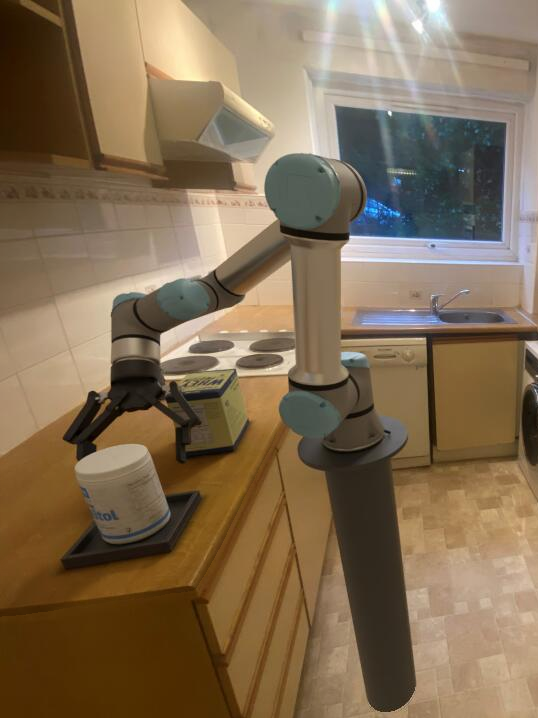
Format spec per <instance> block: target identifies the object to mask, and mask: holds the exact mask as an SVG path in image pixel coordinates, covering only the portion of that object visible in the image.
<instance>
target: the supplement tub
mask: <svg viewBox="0 0 538 718" xmlns="http://www.w3.org/2000/svg"><path fill="white" fill-rule="evenodd" d="M74 472H75V477H76V480H77V483H78V486H79V488H80V490H81V493H82V494H83V497H84V499H85V502H86V505H87V506H88V508H89V509H88V510H89V511H90V514H91V516H92V518H93V521H95V522H96V525H97V527H98V529H99V531H100V533H101V536H102V538H103V539H104V540H105V541H106V542H108V543H111V544H126V543H132V542H136V541H139V540H142V539H144V538H147V537H149V536H151V535H152V534H154V533H156V532H157V531H159V530H160V529H161V528H163V527H164V526H165V525H166V523H167V522H168V521H169V519H170V510H169V507H168V504H167V501H166V498H165V495H166V494H165V493H164V490H163V486H162V484H161V480H160V477H159V475H158V473H157V470H156V466H155V463H154V460H153V458H152V455H151V453H150V452H149V449H148V448H147V446H145V445H142V444H139V443H138V444H137V443H126V444H119V445H114V446H109V447H106V448H101V449H99V450H97V452H94V453H92V454H90V455H88V456H86V457H84V458H83V459H81V460H80V461H78V462H76V464H75V466H74Z"/></svg>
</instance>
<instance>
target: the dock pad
mask: <svg viewBox="0 0 538 718" xmlns="http://www.w3.org/2000/svg"><path fill="white" fill-rule="evenodd" d="M164 495H165V498H166V501H167V504H168V507H169V510H170V519H169V521H168V522H167V523H166V525H165V526H164V527H163V528H161V529H160V530H159V531H157V532H156V533H154V534H152V535H151V536H149V537H147V538H144V539H142V540H139V541H136V542H132V543H126V544H111V543H108V542H106V541H105V540H104V539H103V538H102V536H101V533H100V531H99V529H98V527H97V525H96V522H95V520H93V521H92V522H91V524H90V525H89V526H88V527H87V528H86V530H85V531H84V532H83V533H82V534H81V535H80V537H78V539H77V540H76V541H75V542H74V543H73V545H71V547H70V548H69V549H68V550H67V552H66V553H65V554H64V555H63V556H62V557H61V558H60V562H61V564H62V566H63V567H64V570H70V569H77V568H82V567H88V566H95V565H100V564H105V563H106V564H107V563H111V562H117V561H123V560H129V559H135V558H140V557H141V558H142V557H146V556H147V557H148V556H152V555H158V554H164V553H170V552H172V551H173V549H174V548H175V546H176V544H177V543H178V541H179V539H180V538H181V536H182V534H183V532H184V530H185V528H186V527H187V525H188V524H189V522H190V520H191V518H192V517H193V515H194V513H195V512H196V510H197V508H198V506H199V504H200V503H201V501H202V498H203V497H202V495H201V491H200V490H199V489H197V490H191V491H184V492H183V491H182V492H176V493H169V494H164Z"/></svg>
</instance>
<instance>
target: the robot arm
mask: <svg viewBox="0 0 538 718" xmlns="http://www.w3.org/2000/svg"><path fill="white" fill-rule="evenodd" d="M263 191H264V197H265V201H266V203H267V204H266V205H267V206H268V208H269V210H270V211H271V212H273V214H274V216H275V218H276V220H274V221H273V222H272V223H270V224H269V225H268V226H267V227H266V228H264V229H263V230H262V231H261V232H259V233H258V234H256V235H255V236H254V237H252V239H251V240H249V241H248V242H247V243H245V244H244V245H243V246H242V247H240V248H239V249H238V250H237V251H235V252H234V253H233V254H231V255H230V256H228V258H226V260H224V261H223V262H222V263H221V264H219V265H218V266H217V267H215V269H213V270H212V271H210V272H209V273H208V274H207V275H205V276H203V277H201V278H196V279H188V278H185V277H183V278H178V279H175V280H172V281H170V282H165V284H163V285H162V286H160V287H158V288H157V289H155V290H153V291H152V292H149V293H148V294H147V293H143V292H138V291H137V292H136V291H130V292H129V293H126V292H124V293H120V294H118V295H116V296H115V297H114V299H113V300H112V308H111V312H110V334H111V335H110V338H111V339H110V343H111V347H110V365H111V366H110V377H109V378H110V380H109V382H110V388H109V390H108V391H106V392H98V391H96V390H90V391H89V392H87V397H86V401H85V403H84V405H83V406H82V408H81V409H80V410H79V412H78V414H77V415H76V416H75V418H74V420H73V421H72V423H71V424H70V425H69V427H68V428H67V430H66V431H65V433H64V435H63V436H62V440H63V441H64V442H67V443H68V444H70V445H76V454H75V459H76V461H78V462H79V461H80V460H81V459H83V458H84V457H86V456H88V455H90V454H92V453H94V452H97V451H98V450H97V447H98V446H97V445H98V444H96V443H94V442H95V441H96V439H98V437H99V436H100V435H102V433H104V432H105V430H106V429H108V427H110V426H111V424H112V423H114V421H115V420H116V419H118V418H119V417H122V416H123V415H124V413H135V412H137V411H149V410H150V409H152V408H153V407H154V408H155V409H157V410H158V411H160V412H161V414H164V415H165V416H166V417H168V418H169V419H170V420H172V422H173V421H174V422H176V423H177V424H179V425H180V426H181V427H177V428H175V427H174V434H175V461H176V462H178V463H179V464H181V465H185V464H187V457H186V445H190V444H191V429H192V428H193V427H194V426H196V425H201V424H202V420H201V419H200V418H199V416H198V415H197V414H196V412H195V411H194V410H193V409H192V407H191V406H190V405H189V403H188V402H187V401H186V399H185V398H184V397H183V395H182V391H181V387H180V386H179V385H178V383H177V382H176V381H175V380H172V381H169V382H168V384H165V385H164V386H161V372H162V371H161V369H162V367H161V361H162V360H161V359H162V358H161V336H162V334H164V333H166V332H168V331H170V330H172V329H175V328H176V327H178V326H181V325H183V324H185V323H187V322H190V321H193V320H195V319H199V318H201V317H204V316H207V315H210V314H214V313H216V312H219V311H222V310H226V309H230V308H233V307H235V306H237V305H238V304H239V303H242V302H243V301H244V300H245V297H246V295H247V293H249V292H250V291H252V290H253V289H254V288H256V287H257V286H258V285H259V284H261V283H263V282H264V281H265V280H266V279H267V278H269V277H271V275H273V274H274V273H276V272H277V271H278V270H279V269H281V268H283V266H285V265H286V264H287V263H290V266H291V269H290V270H291V288H292V289H291V291H292V312H293V332H294V356H295V358H294V359H295V364H294V365H293V366H291V367H290V368H289V370H288V371H287V381H288V382H287V384H288V392H287V393H285V394H284V395H283V396H282V398H281V400H280V402H279V405H278V413H279V417H280V419H281V422H282V423H283V424H284V425H285V426H286V427H287V428H289V429H291V431H292V432H293V433H295V434H297V435H298V436H301V437H302V438H303V437H307V438H322V442H323V446H324V447H325V449H327V450H328V451H331V452H334V453H341V454H349V453H357V452H361V451H365V450H368V449H370V448H372V447H374V446H376V445H378V444H379V443H380V442H381V441H382V440H383V439H384V437H385V433H388V434H390V433H391V431H388V430H385V429H384V426H383V424H382V422H381V420H380V418H379V416H378V415H379V414H378V412H377V410H376V408H375V401H374V394H373V385H372V384H373V383H372V376H371V366H370V362H369V358H368V356H367V355H365V354H364V353H361V352H358V351H342V248H343V247H344V246H346V244H348V243H349V242H350V234H351V233H350V231H351V230H350V228H351V227H350V226H351V225H350V224H351V223H353V222H355V221H356V220H357V219H358V218H360V217H361V215H362V214H363V213H364V211H365V208H366V206H367V202H368V191H367V187H366V184H365V182H364V179H363V178H362V176H361V175H360V173H359V172H358V171H357V170H356V169H355V168H354V167H352V166H351V164H349V163H347V162H345V161H343V160H340V159H337V158H328V157H326V156H321V155H317V154H313V153H309V152H308V153H303V152H300V153H298V152H295V153H293V152H292V153H289V154H284V155H283V156H281V157H278V159H276V160H275V161H274V162H273V163H272V164H271V165H270V167H269V169H268V170H267V172H266V175H265V178H264V185H263ZM164 392H166V394H169V395H173V397H174V398H175V399H176V401H177V402H178V403H179V405H180V406H181V407H182V409H183V410H184V411H185V413H186V414H187V415H188V417H189V418H190V419H188V420H184V419H183V418H181V417H180V416H179V415H177V414H176V413H175V412H173V411H172V410H171V409H169V408H168V405H165V404H164V403H163V402H161V401H160V399H159V398H160V397H161V396H162V395H163V394H164ZM107 400H110V402H109V403H107V405H106V401H107ZM103 405H106V406H105V407H104V410H103V411H102V412H100V411H101V408H102V406H103ZM99 412H100V414H99ZM97 415H98V416H97ZM96 416H97V417H96Z"/></svg>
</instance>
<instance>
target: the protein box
mask: <svg viewBox="0 0 538 718" xmlns="http://www.w3.org/2000/svg"><path fill="white" fill-rule="evenodd" d="M177 384H178V385H179V386H180V387H181V391H182V395H183V397H184V398H185V399H186V401H187V402H188V403H189V405H190V406H191V407H192V409H193V410H194V411H195V412H196V414H197V415H198V416H199V418H200V419H201V420H202V424H201V425H196V426H194V427H193V428H192V429H191V444H190V445H186V458H189V457H197V456H204V455H213V454H218V453H219V454H220V453H225V452H234V451H235V450H236V448H237V446H238V445H239V443H240V441H241V439H242V437H243V436H244V434H245V431H246V430H247V428H248V426H249V424H250V418H249V415H248V414H249V413H248V410H247V406H246V403H245V399H244V395H243V391H242V386H241V383H240V379H239V376H238V372H237V368H226V369H213V370H202V371H189V372H188V373H187V374H186V375H185V376H184V377H183V378H182V379H181V380H180V381H179V382H178V383H177ZM164 400H165V402H166V406H167V407H168V408H169V409H171V410H172V411H173V412H175V413H176V414H177V415H179V416H180V417H181V418H183V419H184V420H188V419H190V418H189V417H188V415H187V414H186V413H185V411H184V410H183V409H182V407H181V406H180V405H179V403H178V402H177V401H176V399H175V398H174V397H173V395H169V394H168V393H166V396H165V399H164ZM172 422H173V426H174V429H175V428H177V427H181V426H180V425H179V424H177V423H176V422H174V421H173V420H172Z"/></svg>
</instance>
